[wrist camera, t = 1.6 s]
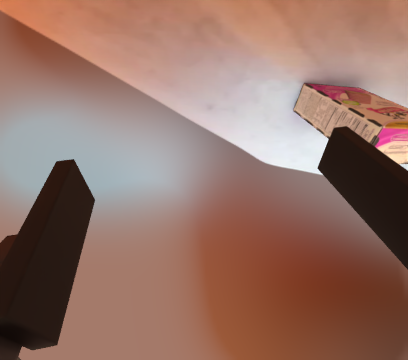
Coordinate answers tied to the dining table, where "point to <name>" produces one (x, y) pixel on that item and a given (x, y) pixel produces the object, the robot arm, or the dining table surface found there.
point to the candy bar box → (357, 116)
